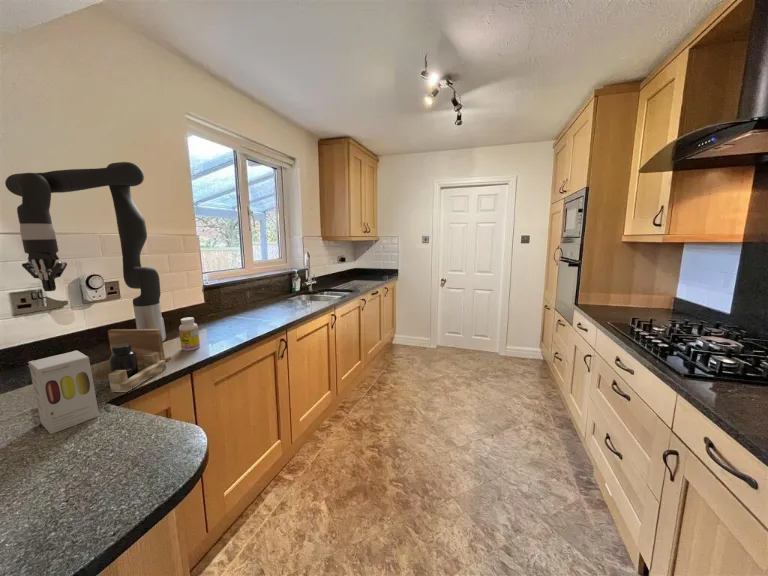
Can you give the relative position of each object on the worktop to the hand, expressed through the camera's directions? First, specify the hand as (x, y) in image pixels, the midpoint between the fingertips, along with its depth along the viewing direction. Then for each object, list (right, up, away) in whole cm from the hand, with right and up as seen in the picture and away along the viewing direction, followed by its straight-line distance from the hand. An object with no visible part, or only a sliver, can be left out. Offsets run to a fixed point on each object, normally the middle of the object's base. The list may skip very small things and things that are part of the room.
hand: (50, 290), depth 104 cm
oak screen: (+20, -27, +14) cm, 36 cm away
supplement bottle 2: (+30, -24, +27) cm, 47 cm away
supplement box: (+29, -34, -22) cm, 50 cm away
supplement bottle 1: (+26, -30, -1) cm, 40 cm away
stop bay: (+31, -29, -1) cm, 43 cm away
